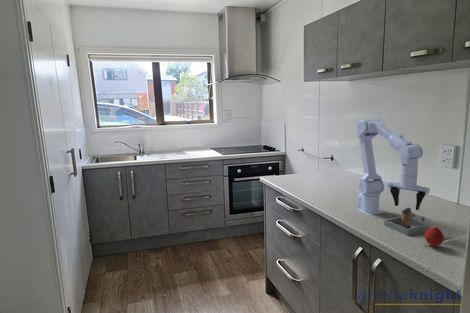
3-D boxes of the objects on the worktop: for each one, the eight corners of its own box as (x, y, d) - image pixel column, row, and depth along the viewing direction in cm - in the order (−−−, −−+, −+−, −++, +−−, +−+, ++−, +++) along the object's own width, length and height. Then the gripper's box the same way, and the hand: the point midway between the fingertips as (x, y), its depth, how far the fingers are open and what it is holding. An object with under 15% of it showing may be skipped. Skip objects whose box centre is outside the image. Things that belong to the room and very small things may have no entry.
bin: (384, 226, 129) (384, 219, 128) (404, 222, 133) (404, 215, 132) (407, 237, 118) (407, 229, 118) (428, 231, 122) (428, 224, 122)
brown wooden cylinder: (398, 228, 125) (400, 209, 124) (403, 224, 128) (404, 206, 127) (408, 230, 123) (409, 212, 121) (412, 227, 126) (414, 208, 124)
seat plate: (397, 217, 138) (397, 214, 137) (412, 214, 141) (412, 211, 140) (415, 224, 129) (415, 221, 129) (430, 221, 132) (431, 217, 132)
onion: (435, 242, 113) (437, 222, 112) (446, 249, 107) (448, 228, 106) (420, 243, 113) (421, 222, 112) (430, 250, 107) (432, 229, 106)
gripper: (432, 175, 119) (430, 208, 122) (392, 170, 129) (391, 201, 132) (427, 179, 114) (425, 213, 117) (387, 173, 124) (385, 205, 127)
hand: (406, 207), depth 124 cm, fingers open, 7 cm apart
